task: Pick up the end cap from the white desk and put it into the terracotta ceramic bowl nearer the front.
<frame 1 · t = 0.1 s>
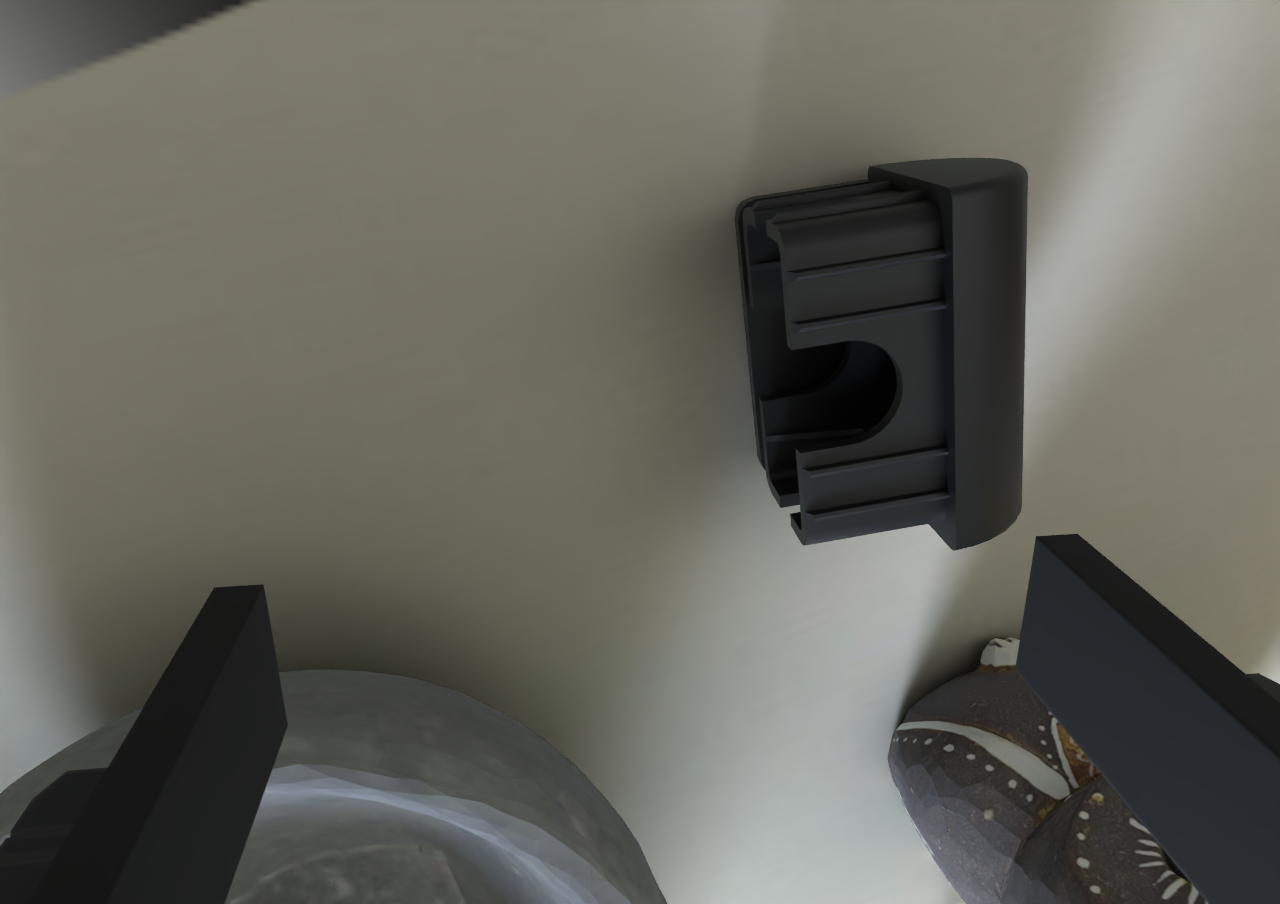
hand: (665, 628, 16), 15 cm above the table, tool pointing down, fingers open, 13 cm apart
figurine: (1036, 751, 39), on the table
end cap: (851, 323, 31), on the table
bowl: (353, 831, 37), on the table
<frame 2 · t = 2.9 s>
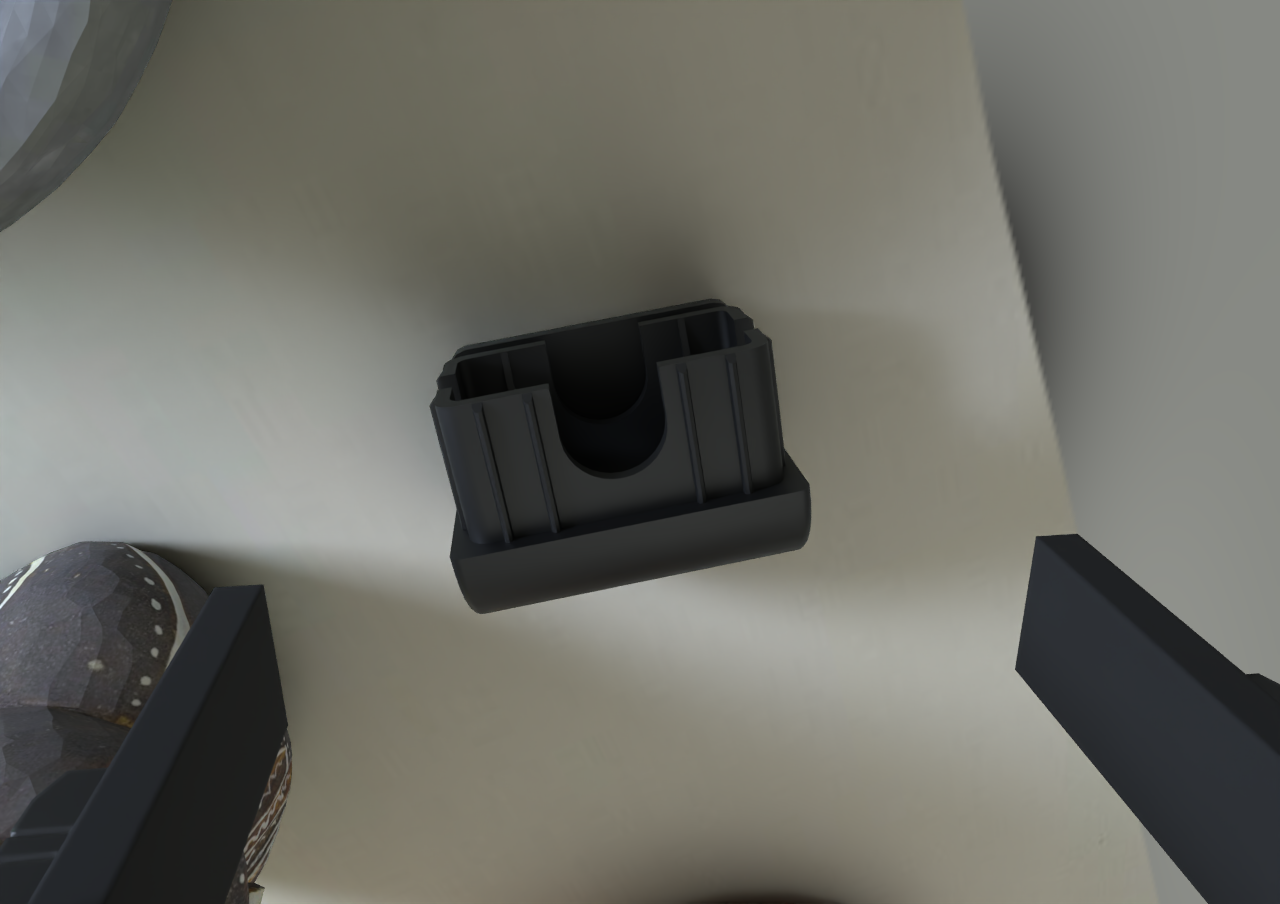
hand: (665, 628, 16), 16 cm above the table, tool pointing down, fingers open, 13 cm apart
figurine: (111, 700, 34), on the table
end cap: (607, 421, 32), on the table
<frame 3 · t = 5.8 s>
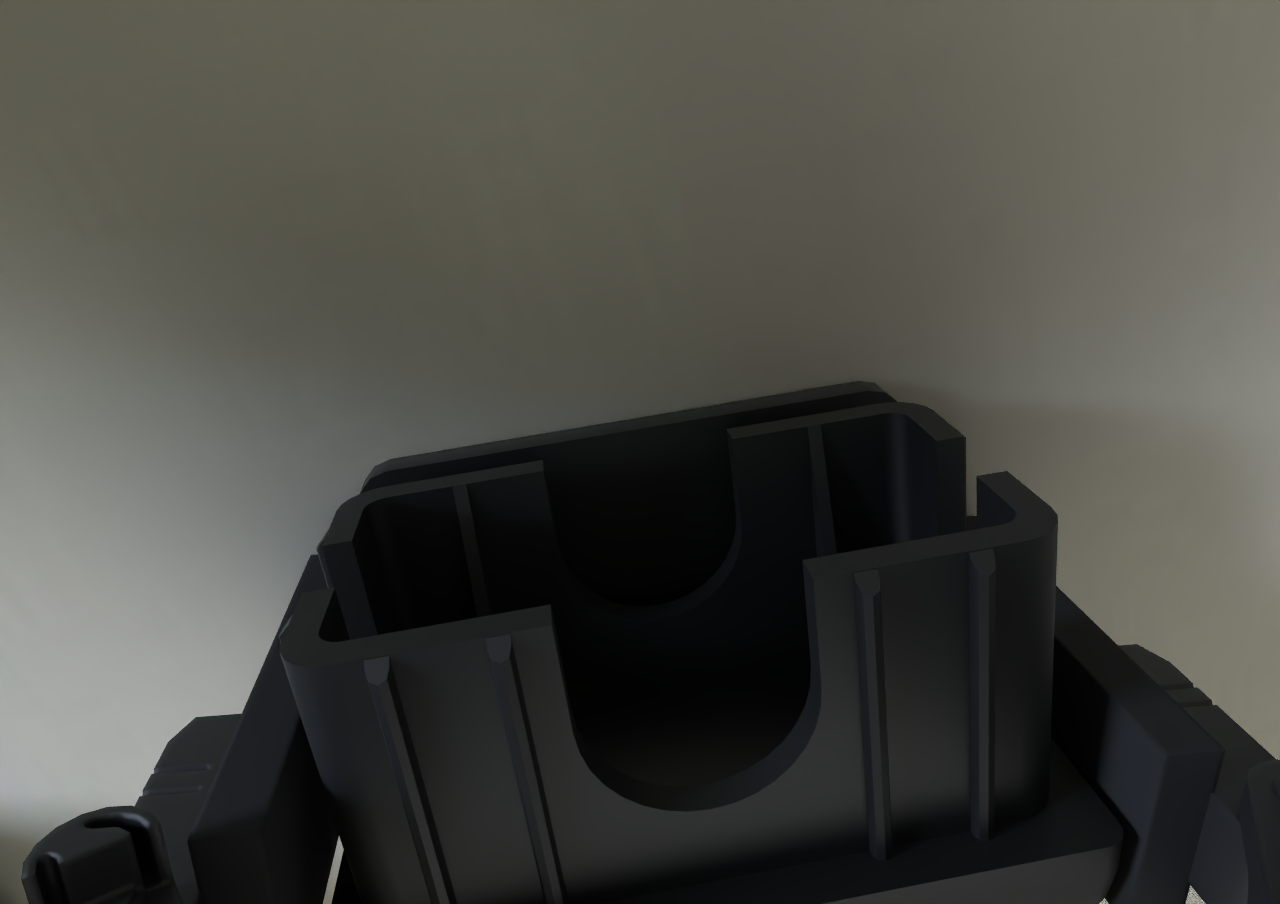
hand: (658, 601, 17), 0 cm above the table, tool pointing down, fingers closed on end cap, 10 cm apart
end cap: (652, 593, 18), on the table, touching gripper
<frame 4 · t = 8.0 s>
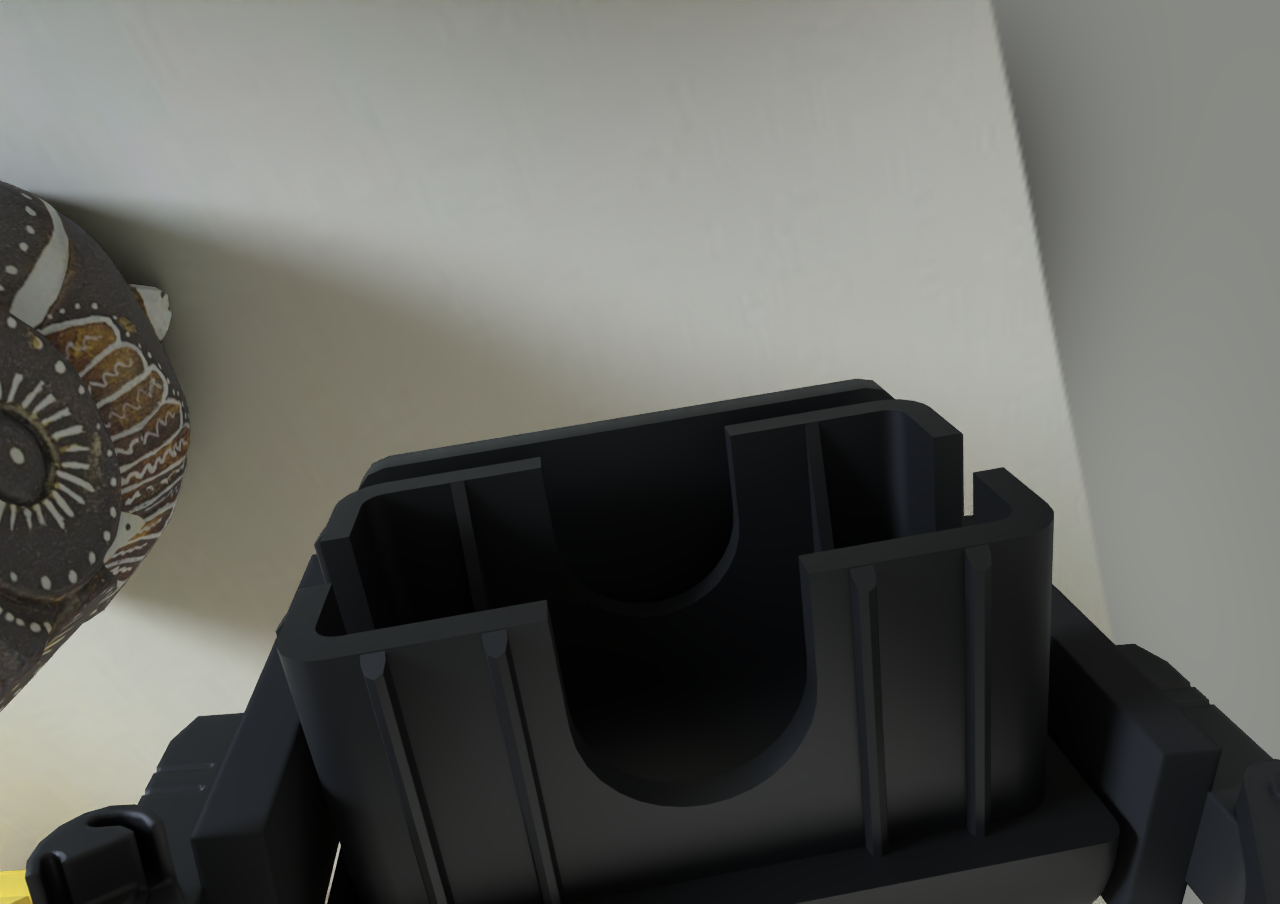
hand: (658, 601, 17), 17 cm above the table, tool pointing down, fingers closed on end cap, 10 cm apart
figurine: (2, 385, 32), on the table
end cap: (650, 591, 18), point 17 cm above the table, touching gripper
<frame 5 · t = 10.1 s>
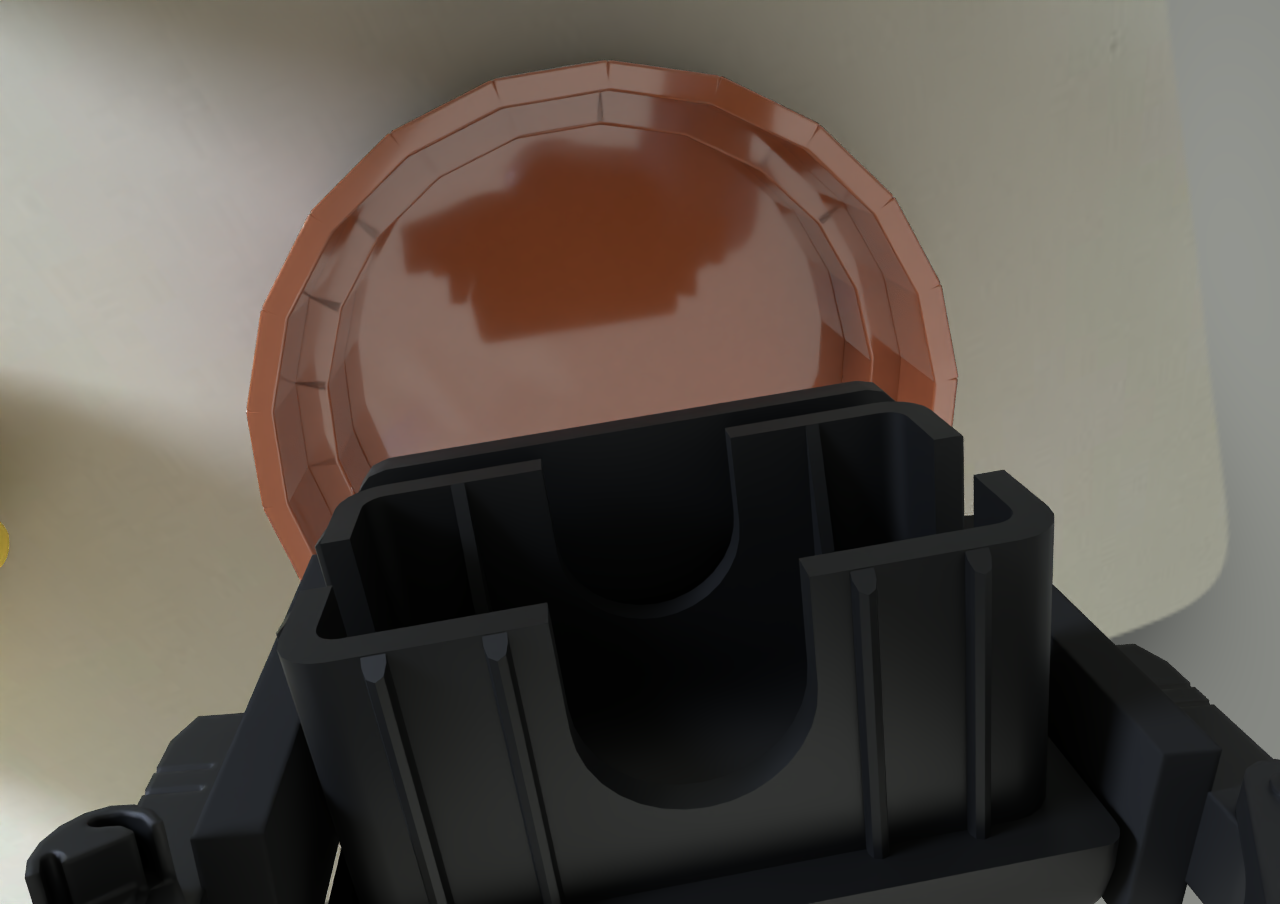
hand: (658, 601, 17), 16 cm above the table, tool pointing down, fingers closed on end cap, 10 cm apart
ceramic bowl: (600, 377, 32), on the table
end cap: (650, 592, 18), point 15 cm above the table, touching gripper
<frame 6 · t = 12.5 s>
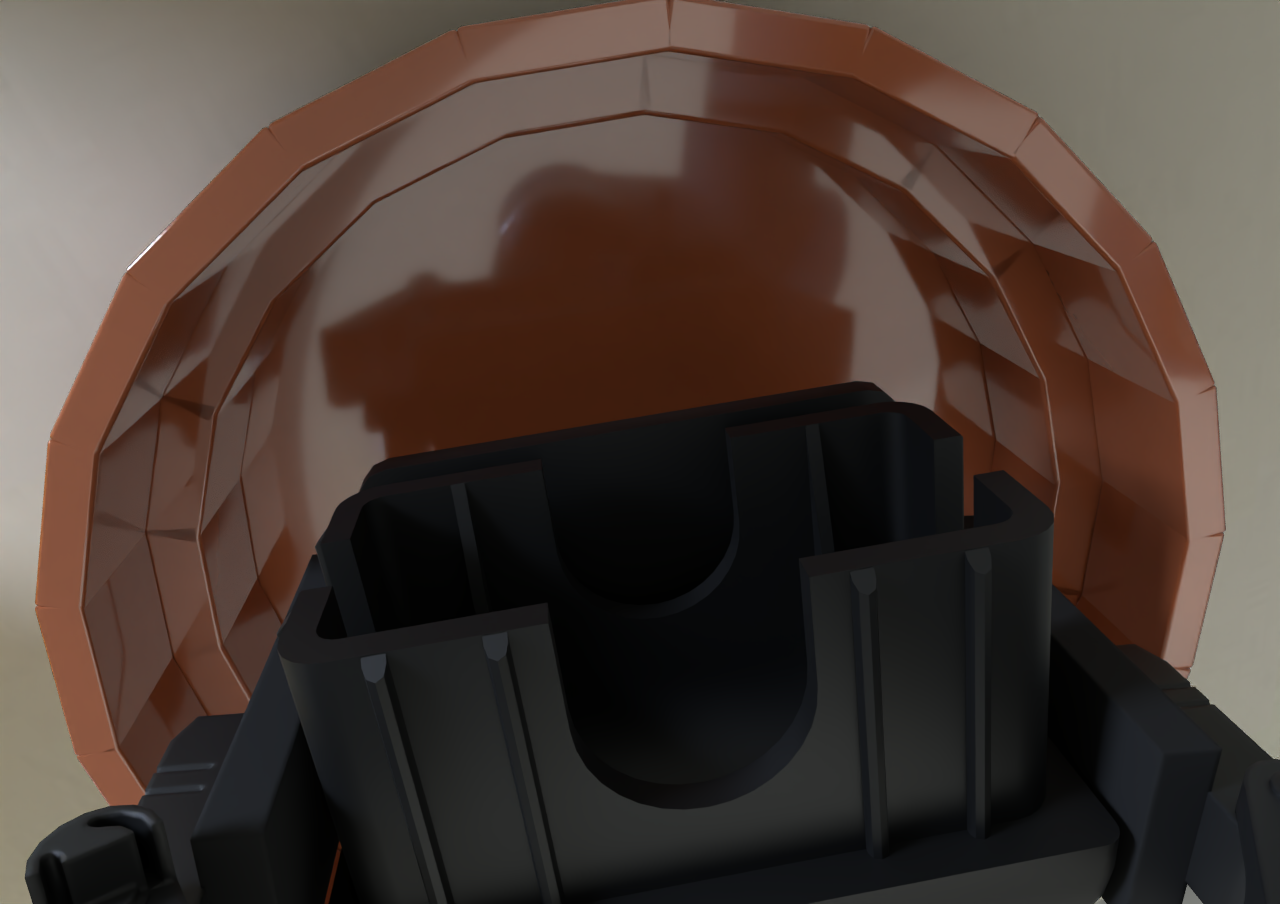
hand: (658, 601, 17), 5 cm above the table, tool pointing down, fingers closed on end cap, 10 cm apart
ceramic bowl: (630, 494, 22), on the table
end cap: (651, 592, 18), point 4 cm above the table, touching gripper
when the fingers open (1 cm above the table, at t = 14.3 s): end cap stays where it is, resting on ceramic bowl.
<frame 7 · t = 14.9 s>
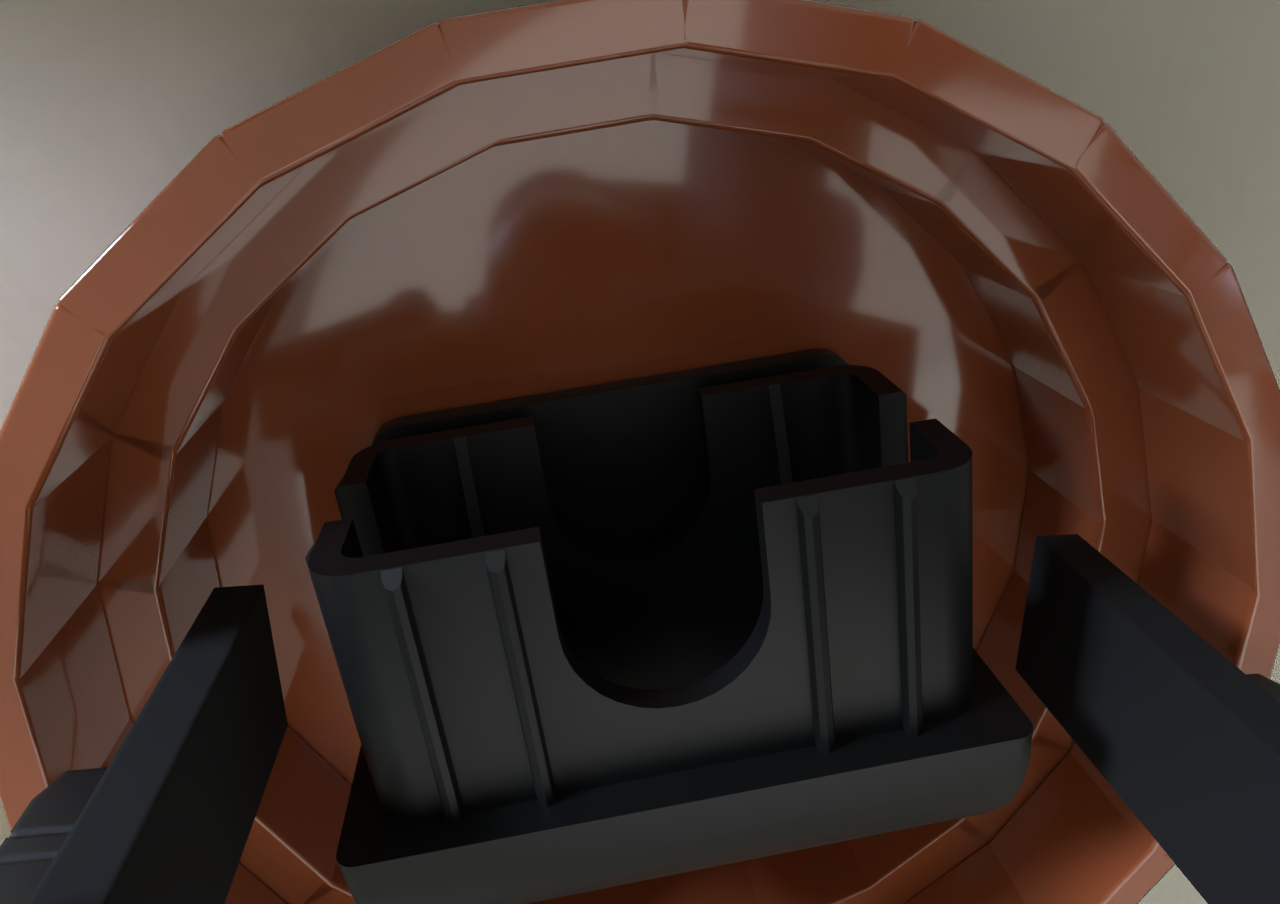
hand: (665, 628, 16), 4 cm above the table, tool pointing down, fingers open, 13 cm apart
ceramic bowl: (633, 530, 20), on the table
end cap: (633, 542, 20), resting on ceramic bowl
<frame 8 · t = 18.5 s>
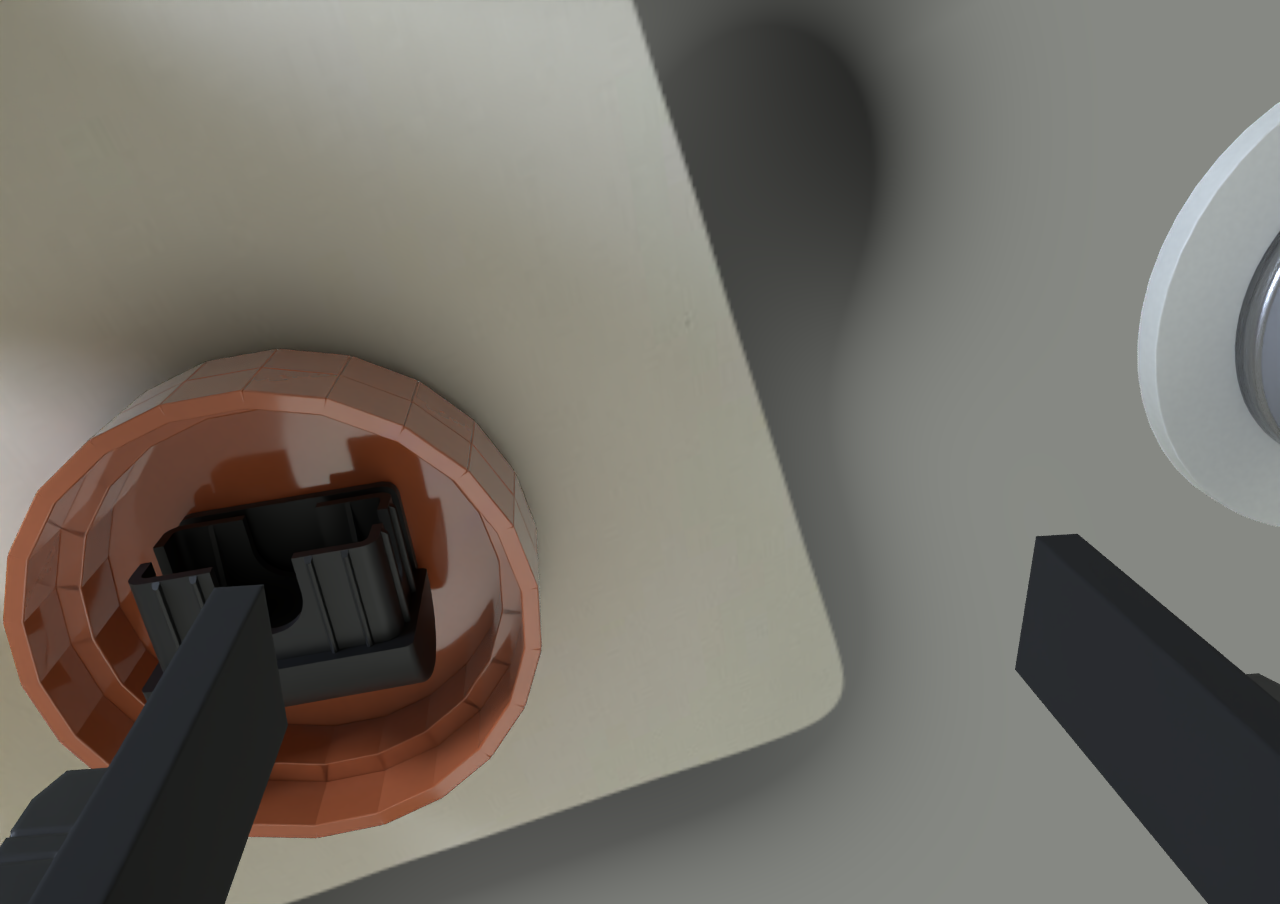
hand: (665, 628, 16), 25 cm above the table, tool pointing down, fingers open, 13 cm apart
ceramic bowl: (314, 562, 42), on the table
end cap: (311, 567, 42), resting on ceramic bowl
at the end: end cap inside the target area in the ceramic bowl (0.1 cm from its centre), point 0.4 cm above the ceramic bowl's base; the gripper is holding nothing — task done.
